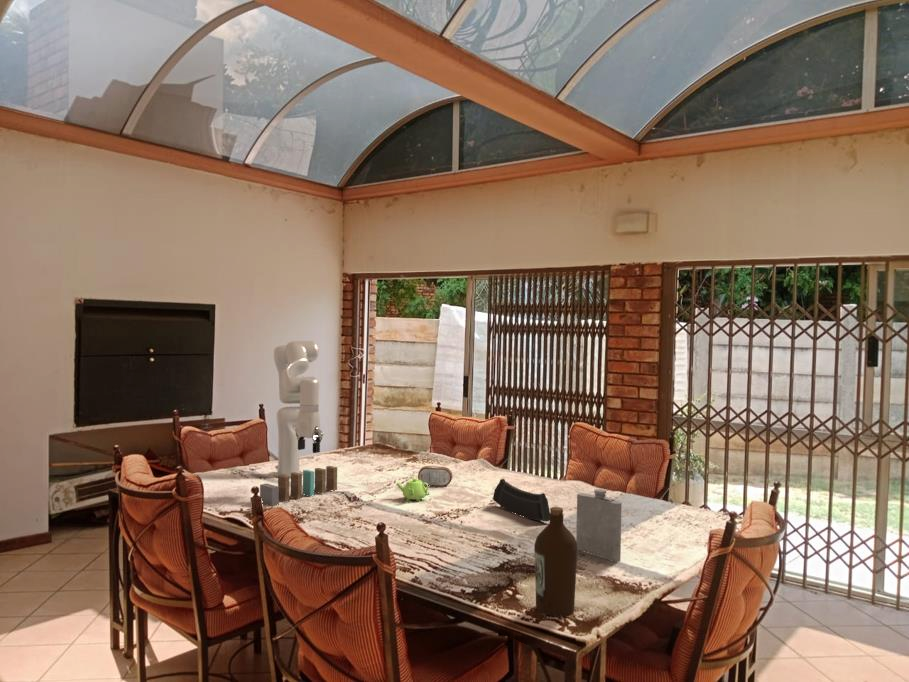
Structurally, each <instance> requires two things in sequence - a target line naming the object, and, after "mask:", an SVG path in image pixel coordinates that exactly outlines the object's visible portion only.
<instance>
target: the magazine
mask: <svg viewBox="0 0 909 682" xmlns="http://www.w3.org/2000/svg"><path fill="white" fill-rule="evenodd" d="M492 495H493V497H492V499H493V501H494V502H496V504H498V505H499V508H500V507H502V508H503V509H504V510H506V511H508V512H510V513H512V512H513V513H512V514H514V513H516V514H518V515H517V516H519V515H521V516H524V517H526V518H525V519H528V518H529V520H534V521H535V520H536V521H541V522H542V521H543V522H545V523H546V522H550V513H551V511H550V507H549V506H550V505H549V500H548V498H547V497H546V496H547V495H546V493H533V492H529V491H525V490H522V489H520V488H518V487H515V486H514V485H512V484H511V483H509V482H508V481H506V479H504V478H500V480H499V483H498V484H497V486H496V487H495V488H494V491H493V494H492ZM516 514H515V515H516ZM521 516H520V517H521ZM524 517H523V518H524Z"/></svg>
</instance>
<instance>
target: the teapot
mask: <svg viewBox="0 0 909 682" xmlns="http://www.w3.org/2000/svg"><path fill="white" fill-rule="evenodd" d="M424 484H426V485H427V486H425V485H424ZM396 487H398V488H399V490H400V491H401V492H402V495H403V497H404V498H405V499H406V500H407V502H410V501H411V500H415V502H417V501H420V502H421V500H423V499H424V498H425V497H426V496H430V491H429V486H428V484H427V483H422V481H421V480H419V479H418V478H416V477H415V478H412V479H411V480H407V482H406V484H405V485H404V486H403V485H402V484H401V483H400V482H398V483H396ZM422 498H423V499H422Z"/></svg>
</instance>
